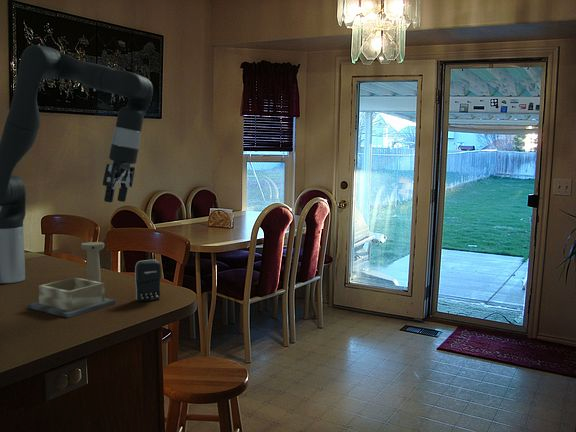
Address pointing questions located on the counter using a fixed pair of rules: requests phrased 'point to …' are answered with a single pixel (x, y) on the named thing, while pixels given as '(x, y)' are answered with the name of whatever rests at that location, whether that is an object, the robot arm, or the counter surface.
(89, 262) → the handle
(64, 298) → the cream grey square tray
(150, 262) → the battery charger
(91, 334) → the counter surface
